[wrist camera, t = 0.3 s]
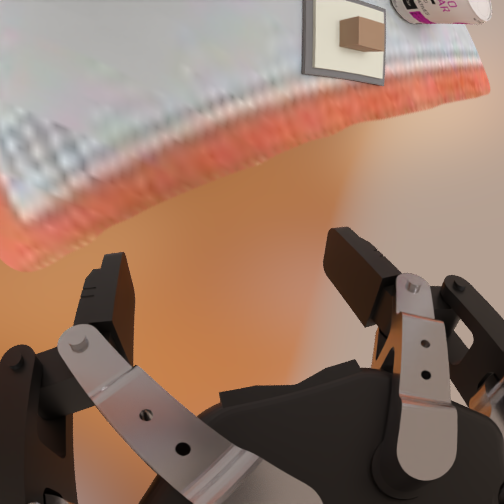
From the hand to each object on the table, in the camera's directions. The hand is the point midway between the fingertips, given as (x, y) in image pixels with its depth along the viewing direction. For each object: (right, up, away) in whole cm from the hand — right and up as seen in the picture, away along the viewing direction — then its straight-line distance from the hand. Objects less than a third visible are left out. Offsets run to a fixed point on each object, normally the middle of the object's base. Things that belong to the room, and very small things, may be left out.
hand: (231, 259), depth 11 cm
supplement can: (+25, +40, +18) cm, 50 cm away
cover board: (+14, +29, +19) cm, 38 cm away
